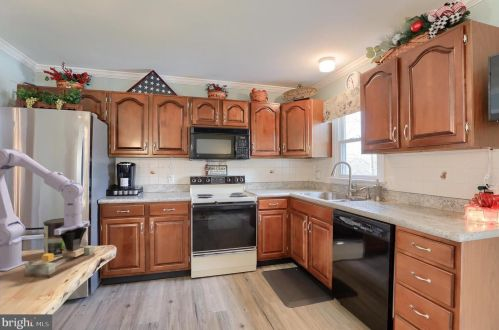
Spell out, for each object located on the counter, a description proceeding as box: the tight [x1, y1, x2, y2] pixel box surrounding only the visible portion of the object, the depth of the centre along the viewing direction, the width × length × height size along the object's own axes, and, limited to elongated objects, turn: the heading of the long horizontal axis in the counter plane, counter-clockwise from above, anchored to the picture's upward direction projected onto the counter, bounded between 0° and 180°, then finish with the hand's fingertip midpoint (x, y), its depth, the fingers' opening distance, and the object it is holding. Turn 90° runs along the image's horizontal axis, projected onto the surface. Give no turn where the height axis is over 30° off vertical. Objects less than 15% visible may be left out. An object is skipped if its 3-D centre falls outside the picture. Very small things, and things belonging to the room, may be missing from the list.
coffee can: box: [43, 217, 66, 258], centre depth 105 cm, size 10×10×14 cm
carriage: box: [61, 238, 84, 257], centre depth 97 cm, size 6×4×6 cm, turn 83°
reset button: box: [41, 253, 55, 262], centre depth 83 cm, size 2×2×2 cm
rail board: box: [23, 244, 96, 279], centre depth 92 cm, size 10×20×5 cm, turn 172°
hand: (73, 247), depth 97 cm, fingers closed on carriage, 3 cm apart
